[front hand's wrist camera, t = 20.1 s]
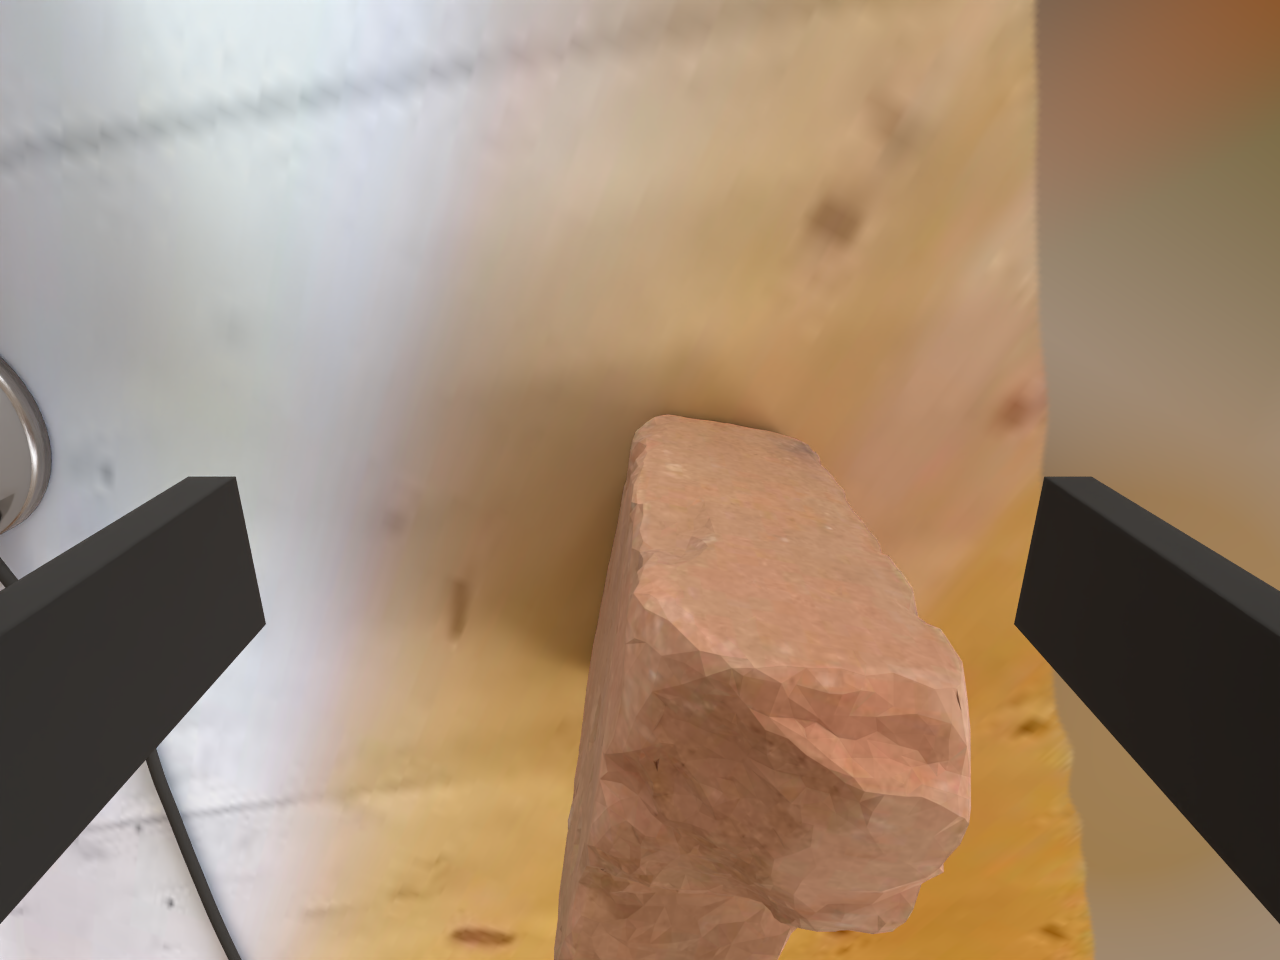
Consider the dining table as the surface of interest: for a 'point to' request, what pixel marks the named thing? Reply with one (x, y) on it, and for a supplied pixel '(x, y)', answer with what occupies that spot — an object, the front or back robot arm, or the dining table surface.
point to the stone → (755, 714)
